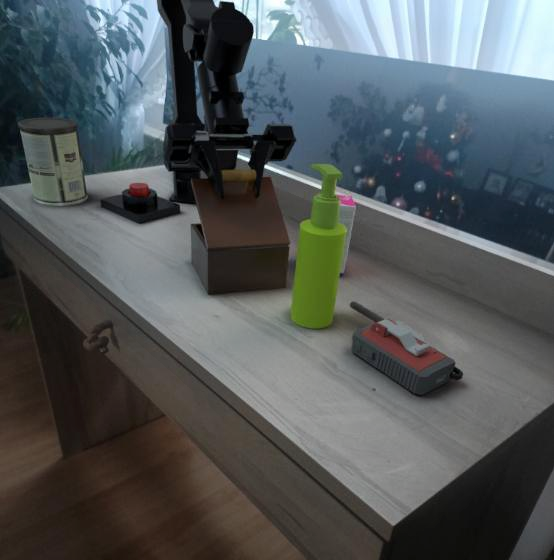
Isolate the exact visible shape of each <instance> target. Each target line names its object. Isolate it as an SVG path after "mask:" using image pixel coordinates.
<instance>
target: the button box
mask: <svg viewBox="0 0 554 560" xmlns="http://www.w3.org/2000/svg"><path fill="white" fill-rule="evenodd" d="M99 201H100V207H101V208H102V209H104V210H107V211H109V212H111V213H113V214H116V215H117V216H120V217H123V218H124V219H127V220H129V221H131V222H133V223H136V224H138V225H141V224H145V223H149V222H152V221H156V220H160V219H163V218H168V217H172V216H174V215H179V214H181V204H178V203H177V202H174V201H169V199H165V198H163V197H160V196H159V195H158V192H157V190H155V189H152V188H149V195H146V196H134V195H130V189H129V188H125V189H124V190H122V191H121V194H116V195H112V196H107V197H102V198H100V199H99Z"/></svg>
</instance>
